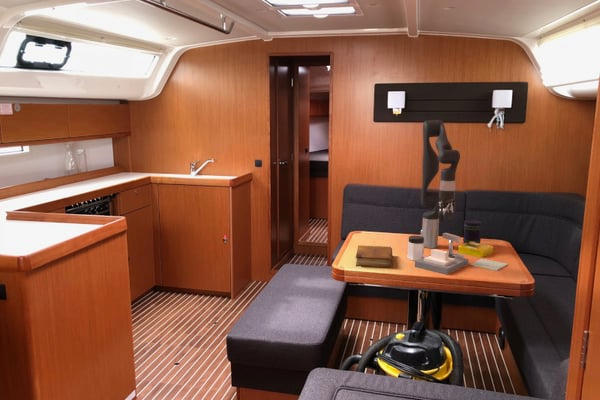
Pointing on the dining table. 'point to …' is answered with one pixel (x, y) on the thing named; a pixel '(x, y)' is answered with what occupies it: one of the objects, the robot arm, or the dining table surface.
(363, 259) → the diary
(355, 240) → the dining table surface
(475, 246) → the element tile
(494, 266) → the mat
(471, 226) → the storage jar
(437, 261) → the cover
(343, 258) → the dining table surface
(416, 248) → the jar
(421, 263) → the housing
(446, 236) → the t key
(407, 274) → the dining table surface
